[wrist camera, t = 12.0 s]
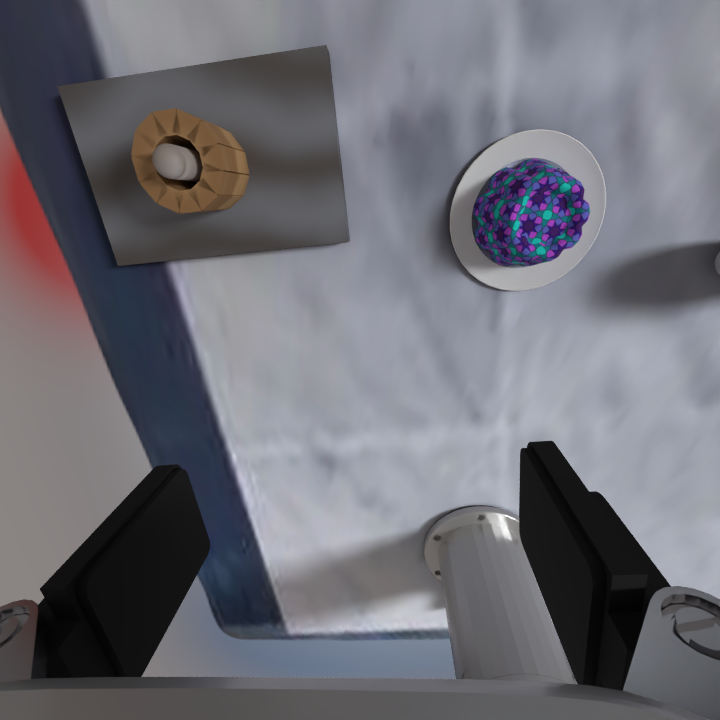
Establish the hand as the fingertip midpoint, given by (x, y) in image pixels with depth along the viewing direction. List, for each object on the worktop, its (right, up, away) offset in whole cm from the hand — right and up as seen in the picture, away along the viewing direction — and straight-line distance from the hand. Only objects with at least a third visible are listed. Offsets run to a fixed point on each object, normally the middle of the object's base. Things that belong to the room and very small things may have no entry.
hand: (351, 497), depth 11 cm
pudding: (+13, +16, +21) cm, 29 cm away
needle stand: (-11, +19, +21) cm, 30 cm away
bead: (-11, +19, +19) cm, 29 cm away
